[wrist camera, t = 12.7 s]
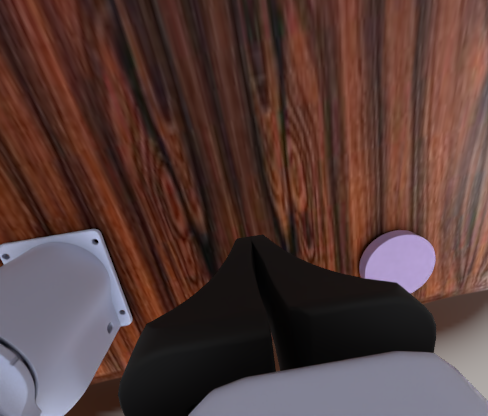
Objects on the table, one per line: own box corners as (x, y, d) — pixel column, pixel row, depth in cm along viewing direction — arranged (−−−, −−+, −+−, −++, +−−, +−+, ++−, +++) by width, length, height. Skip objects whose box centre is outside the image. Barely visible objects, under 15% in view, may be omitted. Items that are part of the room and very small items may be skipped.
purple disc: (420, 282, 23) (431, 291, 22) (356, 293, 23) (364, 303, 22) (426, 222, 21) (439, 228, 20) (356, 234, 21) (365, 241, 20)
